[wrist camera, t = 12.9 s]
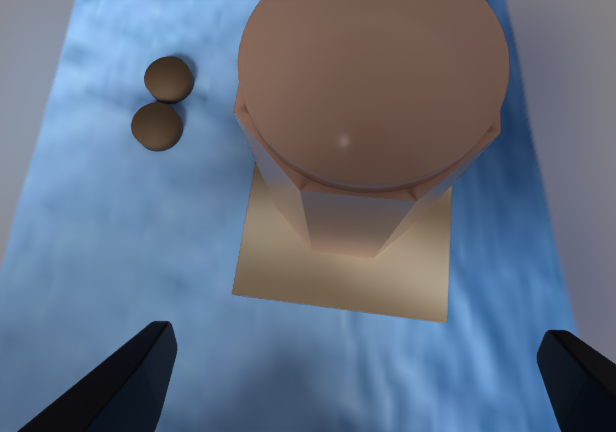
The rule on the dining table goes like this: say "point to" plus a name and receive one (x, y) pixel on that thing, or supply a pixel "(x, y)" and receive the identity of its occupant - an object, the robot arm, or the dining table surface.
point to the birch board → (345, 265)
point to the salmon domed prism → (367, 110)
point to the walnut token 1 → (169, 80)
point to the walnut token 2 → (157, 126)
